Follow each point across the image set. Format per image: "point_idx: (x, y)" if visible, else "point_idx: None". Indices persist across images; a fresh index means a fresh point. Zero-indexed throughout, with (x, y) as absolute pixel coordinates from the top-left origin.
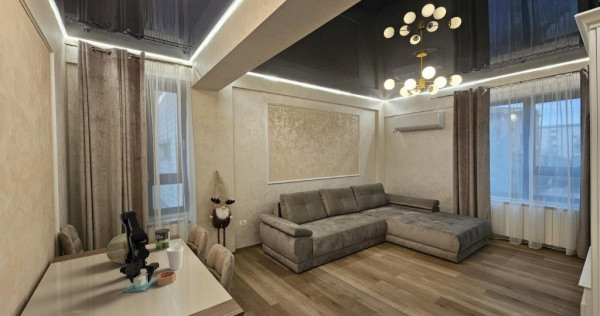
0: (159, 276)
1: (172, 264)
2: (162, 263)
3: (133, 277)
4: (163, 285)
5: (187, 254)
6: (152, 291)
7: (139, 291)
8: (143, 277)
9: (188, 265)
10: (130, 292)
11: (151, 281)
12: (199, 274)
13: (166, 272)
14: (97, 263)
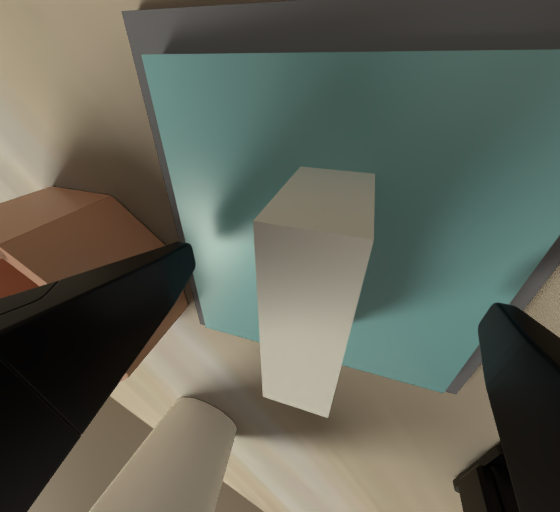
0: None
1: (168, 458)
2: (341, 502)
3: (512, 439)
4: (56, 193)
5: (251, 498)
6: (79, 72)
7: (243, 49)
8: (261, 356)
9: None
10: (434, 7)
11: (226, 299)
12: None
13: None
14: None
